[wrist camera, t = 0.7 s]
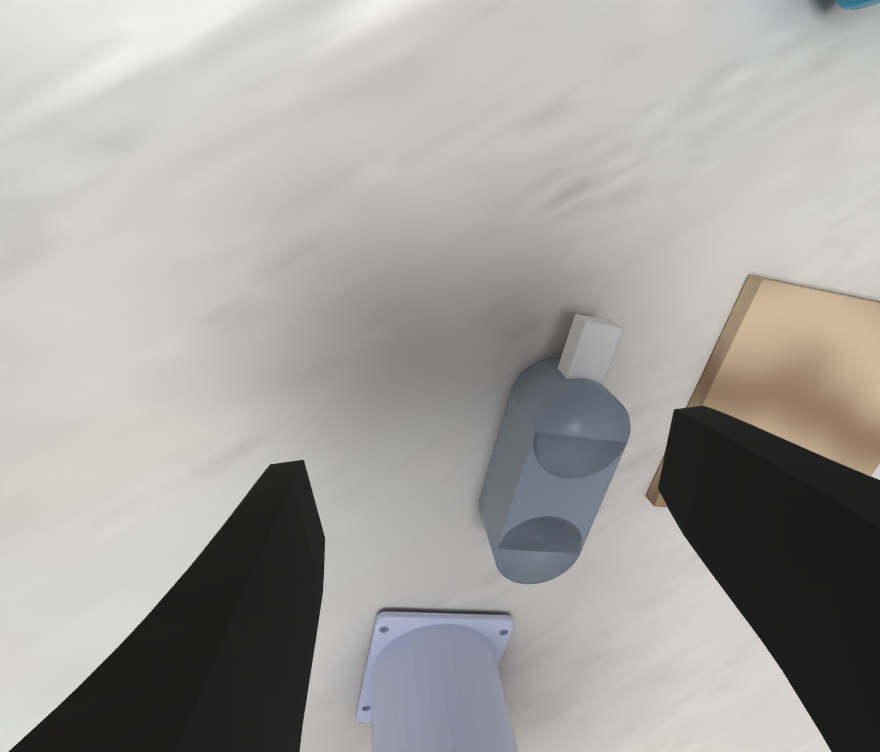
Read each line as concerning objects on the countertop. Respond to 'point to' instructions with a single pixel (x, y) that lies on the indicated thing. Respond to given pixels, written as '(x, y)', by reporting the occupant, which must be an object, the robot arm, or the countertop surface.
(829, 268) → the countertop surface
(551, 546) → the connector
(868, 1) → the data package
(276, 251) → the countertop surface
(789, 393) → the cork pad
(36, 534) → the countertop surface
